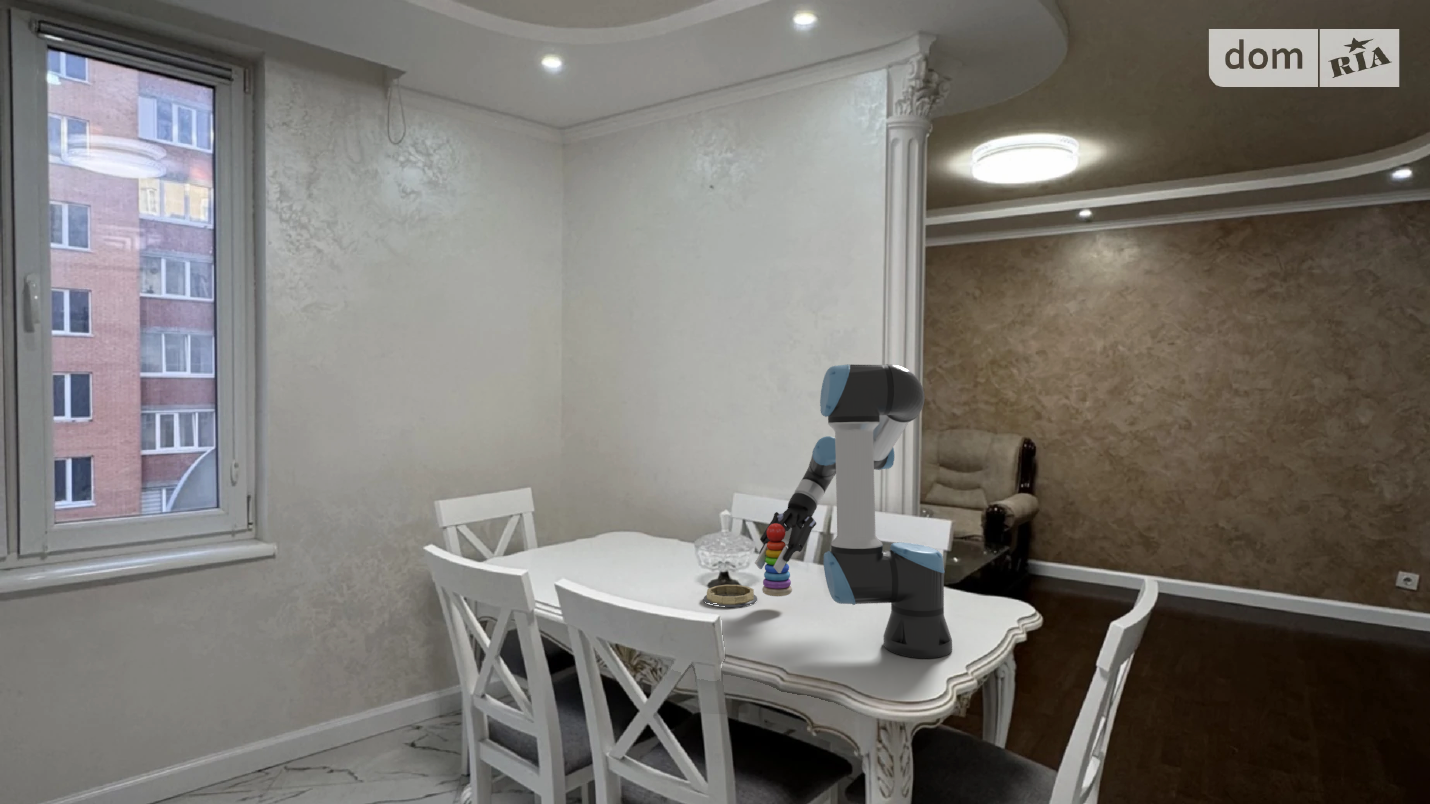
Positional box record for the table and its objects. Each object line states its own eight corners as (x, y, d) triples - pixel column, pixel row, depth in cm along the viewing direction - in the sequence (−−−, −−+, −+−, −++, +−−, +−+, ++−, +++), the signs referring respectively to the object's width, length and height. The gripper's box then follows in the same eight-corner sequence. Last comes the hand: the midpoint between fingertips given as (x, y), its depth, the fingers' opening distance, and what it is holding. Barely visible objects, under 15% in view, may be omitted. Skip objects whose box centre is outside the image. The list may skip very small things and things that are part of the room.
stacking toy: (797, 591, 205) (796, 522, 205) (783, 599, 198) (783, 527, 198) (771, 587, 209) (770, 520, 209) (757, 594, 202) (756, 524, 202)
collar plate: (756, 608, 205) (756, 598, 205) (701, 607, 206) (701, 598, 206) (757, 593, 220) (757, 584, 220) (706, 592, 221) (706, 583, 221)
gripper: (838, 511, 208) (801, 582, 196) (785, 505, 221) (748, 570, 210) (826, 494, 204) (788, 565, 193) (773, 488, 217) (734, 554, 206)
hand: (767, 567), depth 201 cm, fingers closed on stacking toy, 6 cm apart
